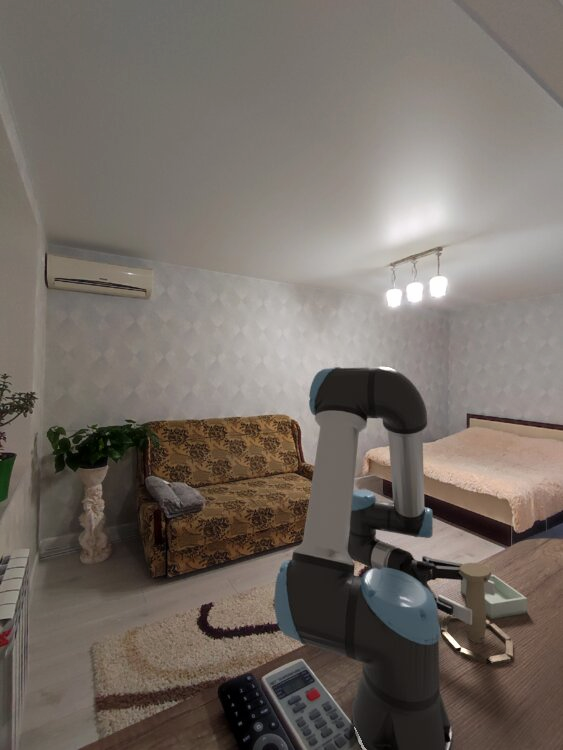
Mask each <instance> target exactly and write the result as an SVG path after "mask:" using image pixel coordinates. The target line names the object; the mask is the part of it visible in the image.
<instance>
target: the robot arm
mask: <svg viewBox="0 0 563 750" xmlns="http://www.w3.org/2000/svg"><path fill="white" fill-rule="evenodd" d="M310 385H311V386H310V388H309V394H308V395H309V400H308V404H309V406H308V407H309V410H310V412H311V414H312V415H313V416H314V420H315V422H316V424H317V425H318V426H319V433H318V440H317V444H316V445H317V446H316V451H315V452H316V453H315V459H314V466H313V472H312V479H311V486H310V492H309V498H308V504H307V505H308V506H307V510H306V517H305V525H304V531H303V538H302V542H301V543H300V544H299V545H298V546H297V547H295V548H294V549H293V550H292V556H291V559H288V560H285V561H283V563H281V565H280V567H279V572H278V573H277V576H276V581H275V588H274V601H273V602H274V603H273V604H274V613H275V618H276V621H277V622H276V623H277V625H278V628H279V629H280V631H281V632H282V634H283V635H284V636H286V637H288V638H291V639H292V640H295V641H298V642H300V644H303V645H305V646H307V645H310V646H312V647H316V648H318V649H321V650H323V651H328V652H330V653H334V654H335V655H336V654H337V655H339V656H342V657H345V658H348V659H351V660H354V661H358V662H360V663H362V673H361V676H360V678H359V682H358V685H357V687H356V691H355V693H354V694H353V695H354V696H353V701H352V709H351V711H352V726H353V725H354V727H355V728H356V730H357V732H358V734H359V736H360V738H361V740H362V743H363V745H364V747H365V748H366V749H367V750H454V737H453V736H454V735H453V730H452V725H451V722H450V718H449V715H448V712H447V709H446V706H445V703H444V701H443V697H442V694H441V692H440V689H441V687H440V685H441V683H440V680H441V679H440V645H439V640H440V638H441V627H440V623H439V611H441V612H443V613H445V614H447V615H452V616H454V617H456V618H458V619H460V620H462V622H464V623H465V624H466V623H468V624H470V625H471V624H472V610H471V609H469V608H467V607H465V605H463V604H461V603H458V602H457V601H454V600H452V599H450V598H448V597H446V596H444V595H441V594H438V595H436V594H435V592H434V591H433V589H432V588H431V587H430V585H429V584H428V582H430V581H435V580H436V579H443V580H457V581H461V580H463V583H465V584H467V581H466V579H465V578H463V577H462V576H461V575H460V572H459V568H460V566H461V565H463V564H464V563H459V562H453V561H449V560H448V561H447V560H442V559H437V558H432V557H429V556H426V555H423V556H422V557H421V559H422V560H416V559H415V558H414V556H413V554H412V553H411V552H410V551H407V550H406V549H405V550H404V549H402V548H400V547H396V545H392V544H390V543H387V542H385V541H382V540H381V539H378V538H377V535H376V534H377V531H382V532H388V533H394V534H399V535H403V536H409V537H414V538H424V539H425V538H426V539H429V538H433V537H432V536H433V532H434V531H433V527H434V526H433V525H434V523H433V509H431V508H429V507H426V506H425V479H424V478H425V477H424V475H425V473H424V441H423V439H424V438H423V437H424V436H423V431H425V429H426V428H427V427H428V411H427V408H426V404H425V401H424V399H423V397H422V394H421V393H420V391H419V390H418V389H417V387H416V386H415V385H414V384H413V382H412V380H410V379H409V378H408V377H406V375H404V374H403V373H401V372H400V371H398V370H396V369H393V368H391V367H387V366H376V367H375V366H374V367H371V366H369V367H368V366H367V367H366V366H365V367H340V366H335V367H329V368H323V369H321V370H319V371H318V372H317V373H316V374H315V375H314V378H313V379H312V382H311V384H310ZM368 419H381V420H382V426H383V428H384V429H385V430H386V431H387V433H388V434H387V436H388V437H387V438H388V449H389V462H390V474H391V488H392V501H393V502H388V501H381V500H377V496H376V494H375V493H374V492H372V491H369V490H367V489H356V490H354V487H355V478H356V475H355V474H356V467H357V455H358V447H359V445H358V444H359V435H360V433H361V432H362V431H364V430H365V429H366V428H367V426H368V425H367V423H368ZM355 562H357V563H359V564H362V565H364V566H366V567H368V568H370V569H368V570H367V571H366V572H364V573H363V575H362V576H358V575H355V567H356V566H355ZM484 592H486V593H489V594H491V595H493V596H494V595H495V582H492V581H490V580H488V581H487V582H486V583H484Z"/></svg>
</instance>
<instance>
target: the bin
mask: <svg viewBox="0 0 563 750" xmlns="http://www.w3.org/2000/svg"><path fill="white" fill-rule="evenodd" d="M489 580H490V581H492V582H495V595H494V596H493V595H491V594H489V593H486V592H484V593H485V606H486V617H488V618H490V619H491V620H493V619H499V618H505V617H512V616H519V615H523V614H528V598H527V597H526V596H524V595H523V594H522V593H520V592H519V591H518V590H516V589H515V588H514V587H512V586H511V585H509V584H507V583H506V582H505V581H504V580H502V579H501V578H499V577H498V576H496V575H495V574H491V577H490V579H489ZM466 585H467V584H465V583H463V580H460V593H461V594H462V595H463V596H465V597H466Z"/></svg>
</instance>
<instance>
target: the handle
mask: <svg viewBox="0 0 563 750" xmlns="http://www.w3.org/2000/svg"><path fill="white" fill-rule="evenodd" d="M462 564H463V565H461V566H460V568H459V572H460V575H461V576H462V577H463V578H465V579H466V581H467V585H466V596H465V605H464V606H465V607H467V608H469V609H471V610H472V624H471V625H470V624H468V623H466V622H465V624H466V625H465V626H466V630H467V631H466V634H467V638H468V639H469V640H470V641H472V643H474V644H480V645H482V644H483V643H484V640H485V637H486V636H485V635H486V630H487V629H486V628H487V627H486V620H487V615H486V606H485V593H484V583H486V582H487V581H488V580H489V579H490V577H491V575H492V570H491V569H490V568H489V567H488V566H486V565H484V564H481V563H479V562H466V563H462Z"/></svg>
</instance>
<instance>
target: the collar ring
mask: <svg viewBox="0 0 563 750" xmlns="http://www.w3.org/2000/svg"><path fill="white" fill-rule="evenodd" d="M445 616H446V617H445ZM445 616H444V617H443V619H442V622H441V627H440V634H441V636H442V638H443V639H444V640H445V641H446V642H447V643H448V645H449V646H450V647H451V648H452V649H453V650H454V651H455V653H457V652H460V656H462V657H463V658H467V659H469V660H471V661H474V662H476V663H479V664H481V665H484V666H487V663H488V664H489V665H490V667H494V666H501V665H504V664H505V665H506V664H511V661H514V645H513V644H514V642H513V641H512V639H511V637H510V636H509V635H507V633H505V632H504V631H503V630H502V629H501V628H499V627H498V625H497V624H496V623H490V620H488V619H486V628H489V629H490V630H491V631H492V632H493V633H495V634H496V635H497V637H499V638H500V639H501V640H502V641H503V642H504V643H505V653H501V654H496V655H491V656H484V655H482V654H479V653H477V652H474V651H472V650H469V649H467V648H464V647H462V646H460V644H459V643H458V642H457V641H456V640H455V638H453V636H451V634H450V633H449V632H448V631H449V627H450V623H451V624H452V623H456V622H461V621H462V620H460V619H458V618H456V617H454V616H452V615H449V614H447V615H445ZM462 622H463V621H462Z"/></svg>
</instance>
